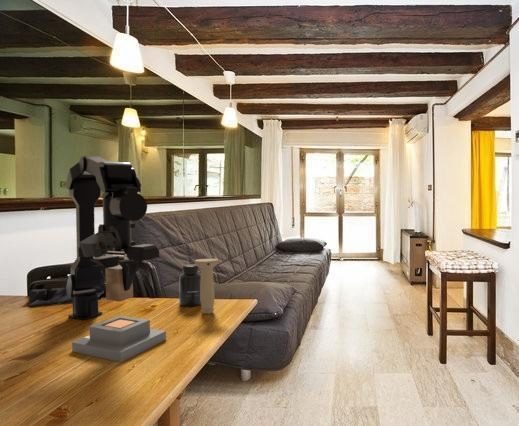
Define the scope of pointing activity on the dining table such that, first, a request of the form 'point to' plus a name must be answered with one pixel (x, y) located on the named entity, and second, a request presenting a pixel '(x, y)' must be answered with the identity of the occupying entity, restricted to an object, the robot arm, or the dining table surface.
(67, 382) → the dining table surface
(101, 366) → the dining table surface
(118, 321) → the button
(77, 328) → the dining table surface
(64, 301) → the dark slate chunk
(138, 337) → the grey stepped square base
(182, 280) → the supplement bottle
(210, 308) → the handle
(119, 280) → the beige rectangular prism
